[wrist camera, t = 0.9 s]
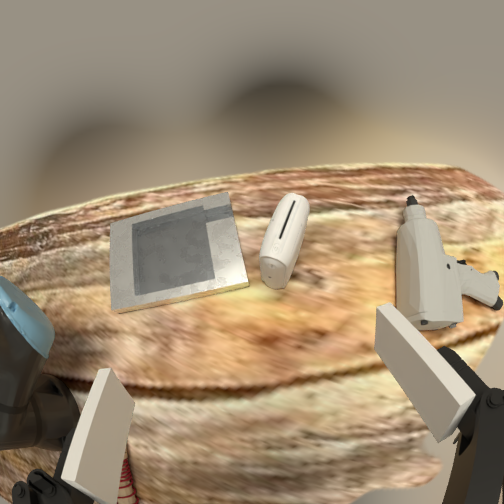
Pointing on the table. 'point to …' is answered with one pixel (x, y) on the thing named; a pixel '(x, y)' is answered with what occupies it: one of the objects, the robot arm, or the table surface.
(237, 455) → the table surface
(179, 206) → the plate
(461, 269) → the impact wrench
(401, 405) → the table surface
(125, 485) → the shock absorber
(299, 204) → the photo printer
